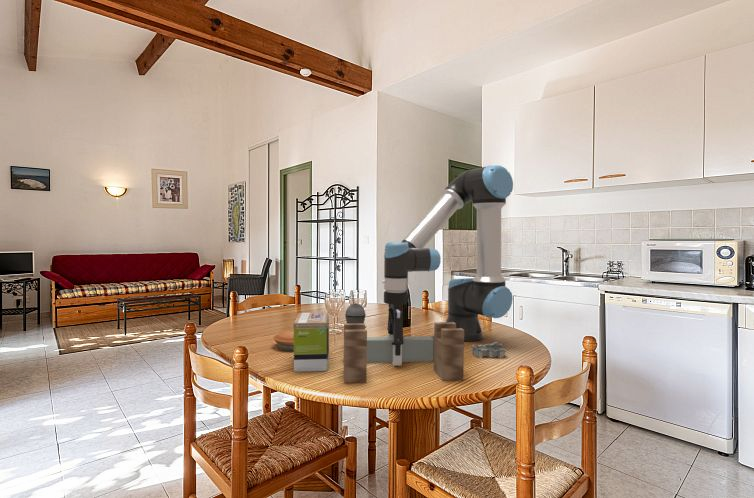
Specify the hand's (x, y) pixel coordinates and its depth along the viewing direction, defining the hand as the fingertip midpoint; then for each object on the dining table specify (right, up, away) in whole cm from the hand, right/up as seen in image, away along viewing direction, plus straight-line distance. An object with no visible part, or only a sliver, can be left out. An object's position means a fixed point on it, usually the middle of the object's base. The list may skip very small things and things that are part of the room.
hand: (394, 359), depth 132 cm
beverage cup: (-13, 0, +14) cm, 19 cm away
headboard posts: (+1, -1, -14) cm, 14 cm away
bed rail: (0, 0, 0) cm, 0 cm away
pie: (-35, 0, +15) cm, 38 cm away
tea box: (-26, 0, -5) cm, 26 cm away
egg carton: (+32, -1, +7) cm, 33 cm away
